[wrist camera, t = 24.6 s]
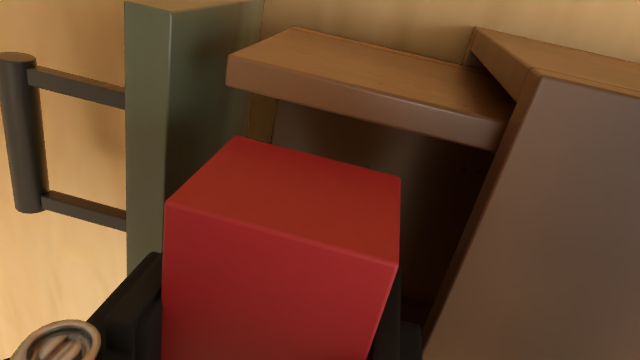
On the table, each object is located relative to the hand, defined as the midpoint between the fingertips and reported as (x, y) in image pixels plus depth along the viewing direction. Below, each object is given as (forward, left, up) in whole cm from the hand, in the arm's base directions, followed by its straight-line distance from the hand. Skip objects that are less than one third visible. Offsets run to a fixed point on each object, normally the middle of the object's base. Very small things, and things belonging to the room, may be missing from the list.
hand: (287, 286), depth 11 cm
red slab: (0, 0, 0) cm, 0 cm away
